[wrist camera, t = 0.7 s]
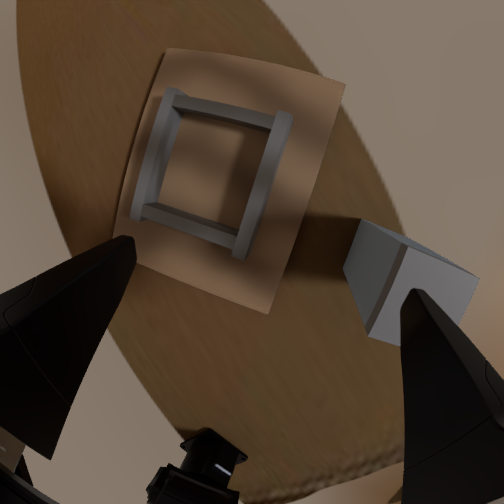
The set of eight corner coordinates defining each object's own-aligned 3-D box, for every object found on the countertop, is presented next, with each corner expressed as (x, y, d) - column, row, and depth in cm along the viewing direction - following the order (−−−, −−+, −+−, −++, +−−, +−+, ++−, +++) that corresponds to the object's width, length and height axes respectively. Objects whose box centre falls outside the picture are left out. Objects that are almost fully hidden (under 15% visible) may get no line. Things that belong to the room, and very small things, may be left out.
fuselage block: (388, 285, 24) (439, 358, 12) (342, 268, 24) (367, 336, 13) (407, 237, 23) (479, 278, 11) (361, 218, 23) (408, 246, 11)
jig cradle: (269, 310, 26) (263, 327, 23) (115, 248, 28) (94, 256, 24) (344, 87, 21) (349, 72, 18) (172, 51, 23) (155, 37, 19)
